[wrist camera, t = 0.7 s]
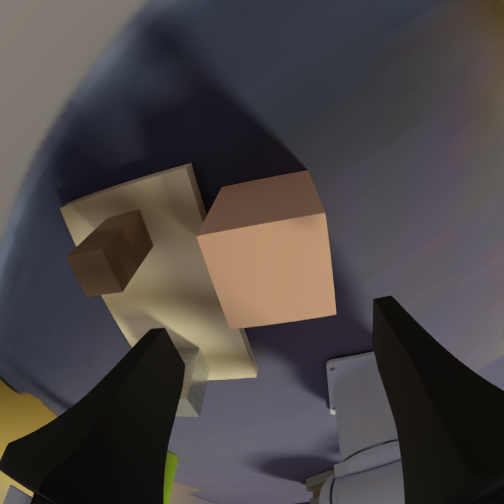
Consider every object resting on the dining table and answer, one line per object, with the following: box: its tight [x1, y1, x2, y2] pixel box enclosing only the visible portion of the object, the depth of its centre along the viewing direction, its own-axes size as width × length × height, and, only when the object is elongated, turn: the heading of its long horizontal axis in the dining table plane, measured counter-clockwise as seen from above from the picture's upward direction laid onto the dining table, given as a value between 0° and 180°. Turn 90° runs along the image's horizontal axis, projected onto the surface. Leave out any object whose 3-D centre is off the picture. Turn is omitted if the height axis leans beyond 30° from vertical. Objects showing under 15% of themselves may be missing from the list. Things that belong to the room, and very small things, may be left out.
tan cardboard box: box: [196, 170, 336, 329], centre depth 16 cm, size 5×5×7 cm
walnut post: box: [66, 209, 154, 297], centre depth 16 cm, size 3×3×5 cm
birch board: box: [60, 163, 257, 380], centre depth 22 cm, size 18×10×1 cm, turn 13°
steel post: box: [176, 348, 210, 417], centre depth 22 cm, size 3×3×5 cm
